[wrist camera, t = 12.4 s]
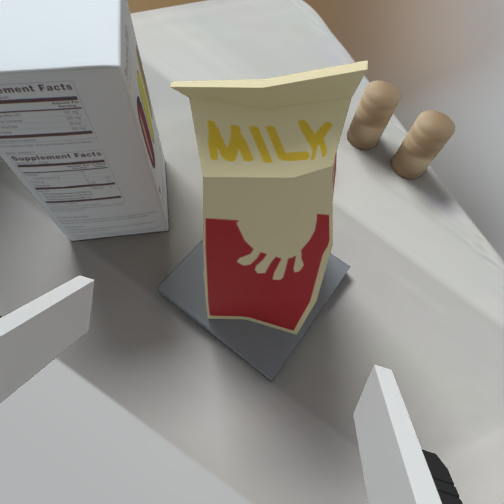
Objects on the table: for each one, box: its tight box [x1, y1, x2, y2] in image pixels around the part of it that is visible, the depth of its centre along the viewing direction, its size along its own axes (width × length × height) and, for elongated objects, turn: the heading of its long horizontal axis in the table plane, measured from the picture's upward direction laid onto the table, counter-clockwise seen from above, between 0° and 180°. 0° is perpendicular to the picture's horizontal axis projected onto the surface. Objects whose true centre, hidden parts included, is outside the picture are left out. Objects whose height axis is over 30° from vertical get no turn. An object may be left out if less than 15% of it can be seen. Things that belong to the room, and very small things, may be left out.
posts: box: [347, 81, 455, 179], centre depth 36 cm, size 22×8×6 cm, turn 97°
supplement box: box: [0, 0, 169, 241], centre depth 27 cm, size 10×9×17 cm
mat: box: [157, 240, 350, 381], centre depth 31 cm, size 12×12×1 cm
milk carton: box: [170, 61, 368, 335], centre depth 21 cm, size 9×9×20 cm
